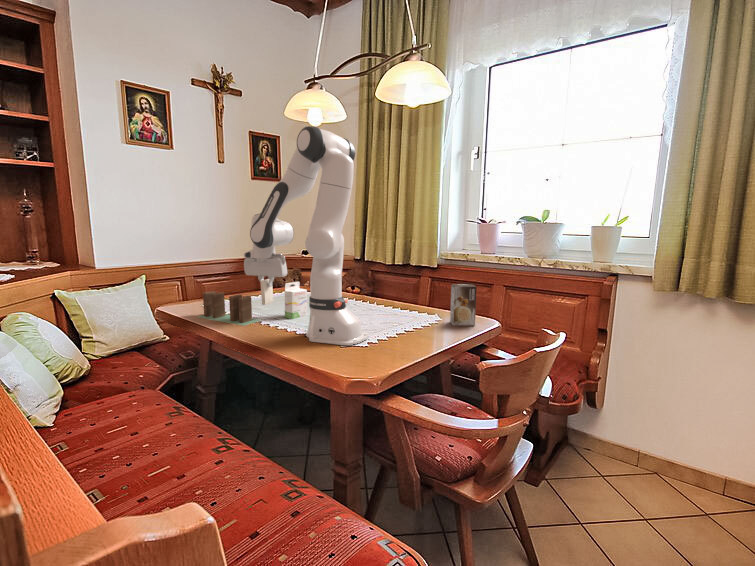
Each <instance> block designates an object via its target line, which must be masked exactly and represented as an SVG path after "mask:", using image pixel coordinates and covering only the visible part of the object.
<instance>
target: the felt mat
mask: <svg viewBox="0 0 755 566" xmlns="http://www.w3.org/2000/svg"><path fill="white" fill-rule="evenodd" d="M197 318H198V319H203V320H204V319H205V320H211V321H215V322H221V323H227V324H232V325H237V326H238V325H239V326H242V327H245V326H248V325H251V324H254V323H257V322H260V321H262V319H258V318H253V317H252V321H248V322H245V323H239V320H237V321H230V313H229V314H227V313H225V316H223V317H219V318H213V316H209V317H205V316H204V314H201V315H198V316H197Z"/></svg>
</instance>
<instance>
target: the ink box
mask: <svg viewBox="0 0 755 566" xmlns="http://www.w3.org/2000/svg"><path fill="white" fill-rule="evenodd" d="M300 285H301V283H300V281H293V282H286V283H285V284H284V318H286V319H291V320H294V319H297V318H302V317H306V316H308V289H305V288H300Z"/></svg>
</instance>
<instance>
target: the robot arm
mask: <svg viewBox="0 0 755 566" xmlns="http://www.w3.org/2000/svg"><path fill="white" fill-rule="evenodd" d="M355 158H356V149H355V145H354V144H353V143H352V142H351V141H350V140H348V139H347V138H343V137H341V136H340V135H339V134H338V135H337V134H335V133H334V132H332V131H329V130H327V129H322V128H319V127H317V126H311V125H310V126H309V125H308V126H305V127H303V128H301V130H300V132H299V133H298V135H297V137H296V149H295V151H294V153H293V154H292V156H291V158H290V160H289V163H288V165H287V168H286V171H285V173H284V174H283V176H282V178H281V179H280V180H279V181H278V182H277V183H276V184H275V186H274V187H273V189H272V190H271V192H270V194H269V196H268V198H267V199H266V202H265V204H264V206H263V208H262V210H261V212H259V213H257V214H254V215H253V216H252V219H251V227H250V229H249V237H250V240H251V242H252V249H251V250H248V251H245V252H244V253H243V258H244V261H243V269H244V274H245V275H246V276H254V277H255V276H256V277H257V279H258V281H259V282H260V281H261V280H265V279H264V278H265V277H267V279H269V282H268V283H267V287H272V286H273V282H274V280H275V278H276V277H279V278H282V277H287V275H288V266H287V262H286V257H285V255H283V254H282V253H276V247H278V246H285V245H288V244H291V243H292V241H293V240H294V237H295V231H294V228H293V226H292V224H291V223H290V222H288V221H285V220H281V219H279V216H280V214H281V212H282V211H283V208H284V207H285V206H286V205H287V204H288V203H290V202H292V201H294V200H296V199H299V198H302V197H304V196H306V195H307V194H309V193H310V192H311V191H312V189H313V188H314V186H315V183H316V180H317V177H318V175H319V172H320V170H321V175H320V180H319V184H318V185H319V187H318V192H317V198H316V203H315V207H314V211H313V214H312V218H311V221H310V224H309V228H308V232H307V236H306V237H305V241H304V242H305V249H306V251H307V252H308V254H309V255H310V256H311V257H312V265H311V271H310V277H309V281H310V285H309V286H310V296H309V297H308V298H309V299H308V301H309V302H308V304H309V306H308V307H309V309H310V313H309V320H308V321H309V322H308V327H307V331H306V333H305V334H306V338H308V341H309V342H313V343H322V344H330V345H339V346H353V344H355V345H357V343H358V344H360V342H361V343H362V341H363V342H365V341H366V340H367V339H368V338H369V333H368V332H365V331H363V326H362V322H361V320H360V318H358V317H357V316H356V315H355V314H354V313H353V312H352V311H350V309H349V308H347V305H346V304H347V303H349V299H344V297H343V295H342V294H343V293H342V292H343V291H342V290H343V289H342V288H343V287H342V285H343V284H342V282H343V264H344V251H345V237H344V235H343V229H344V225H345V222H346V218H347V215H348V212H349V207H350V201H351V196H352V190H353V184H354V170H355V167H354V166H355V165H354V164H355V163H354V161H355ZM364 340H365V341H364Z"/></svg>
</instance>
